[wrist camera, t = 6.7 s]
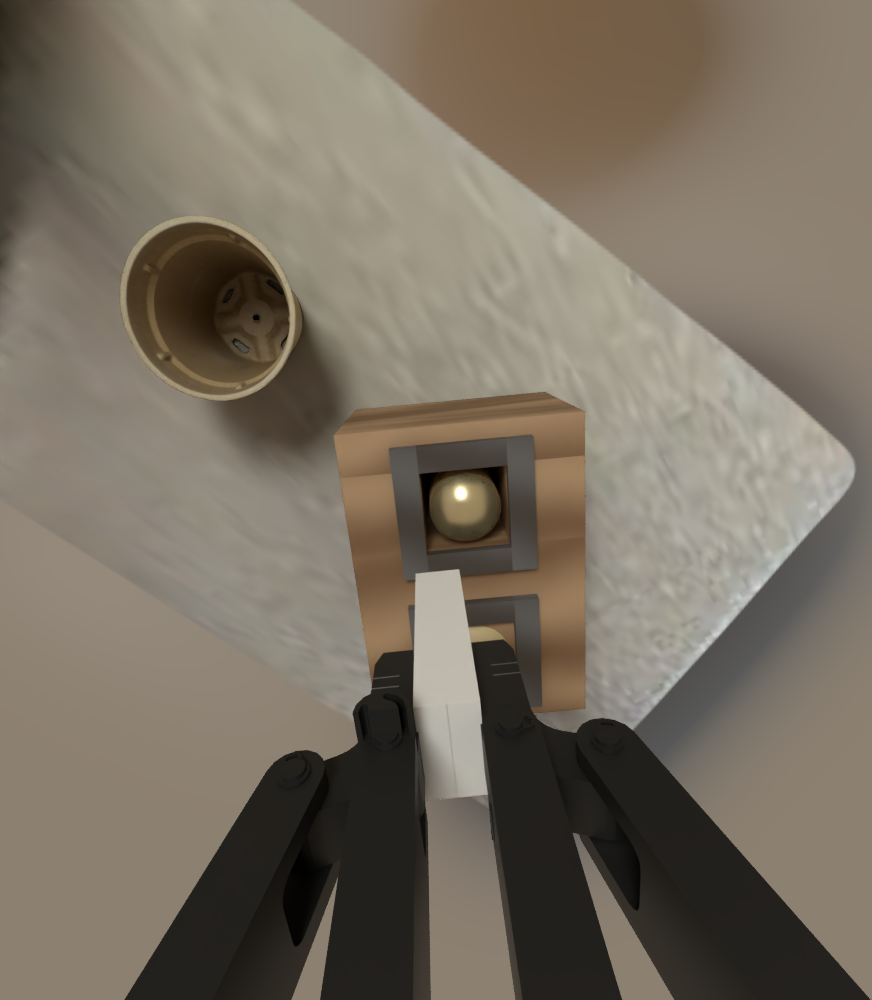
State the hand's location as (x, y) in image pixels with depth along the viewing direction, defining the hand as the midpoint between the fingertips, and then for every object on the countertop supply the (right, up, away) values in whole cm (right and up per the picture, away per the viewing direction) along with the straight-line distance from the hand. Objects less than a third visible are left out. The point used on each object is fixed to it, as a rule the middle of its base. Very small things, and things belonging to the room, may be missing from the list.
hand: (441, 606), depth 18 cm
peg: (+1, +6, +20) cm, 21 cm away
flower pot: (-13, +17, +18) cm, 28 cm away
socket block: (+2, +2, +23) cm, 23 cm away
